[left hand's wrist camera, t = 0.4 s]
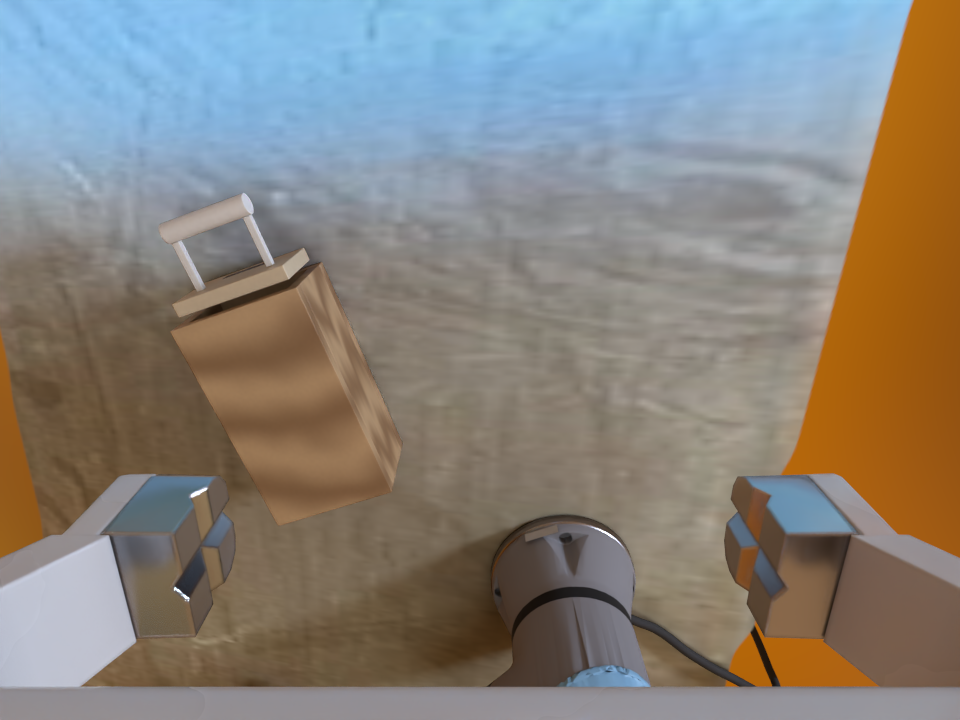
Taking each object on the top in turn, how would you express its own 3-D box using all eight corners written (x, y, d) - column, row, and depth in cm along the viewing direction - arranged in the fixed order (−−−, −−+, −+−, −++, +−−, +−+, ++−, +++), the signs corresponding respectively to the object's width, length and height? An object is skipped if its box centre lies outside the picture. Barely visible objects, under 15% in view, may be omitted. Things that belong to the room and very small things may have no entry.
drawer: (171, 219, 54) (132, 234, 48) (274, 181, 53) (248, 191, 47) (292, 452, 63) (272, 489, 57) (383, 423, 62) (373, 457, 56)
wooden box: (212, 300, 58) (169, 331, 50) (322, 261, 57) (296, 287, 49) (302, 474, 65) (278, 526, 57) (402, 443, 64) (391, 492, 56)
